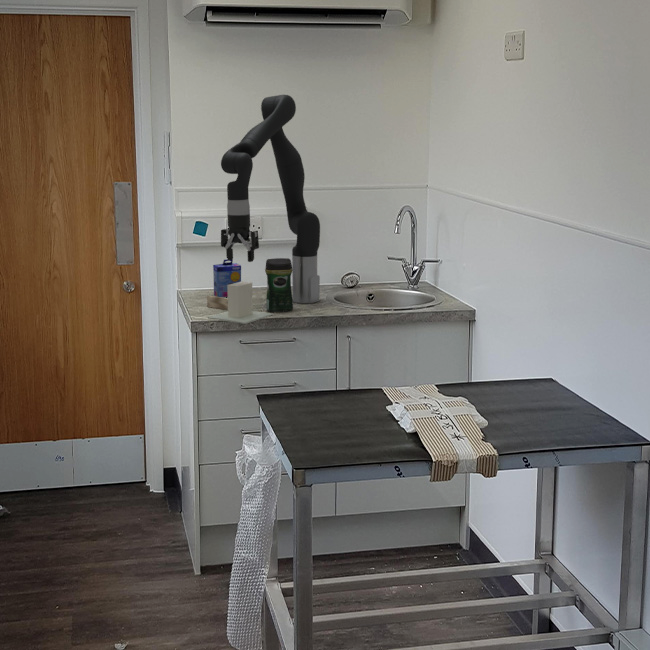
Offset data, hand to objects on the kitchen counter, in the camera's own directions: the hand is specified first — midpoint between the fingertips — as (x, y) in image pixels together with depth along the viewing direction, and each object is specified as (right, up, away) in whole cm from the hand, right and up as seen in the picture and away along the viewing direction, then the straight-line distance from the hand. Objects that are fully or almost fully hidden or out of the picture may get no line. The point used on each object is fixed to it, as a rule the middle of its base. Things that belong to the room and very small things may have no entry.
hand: (240, 260), depth 321 cm
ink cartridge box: (-8, -11, +40) cm, 42 cm away
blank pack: (0, -18, +5) cm, 19 cm away
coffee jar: (+12, -17, +15) cm, 26 cm away
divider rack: (-6, -15, +23) cm, 28 cm away
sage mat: (0, -19, +5) cm, 20 cm away
